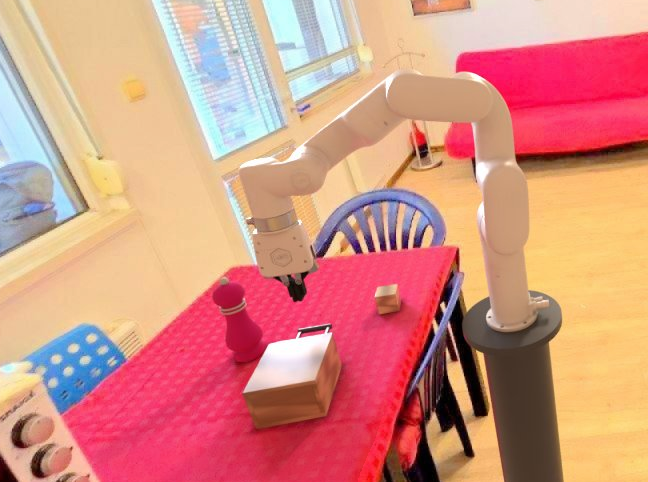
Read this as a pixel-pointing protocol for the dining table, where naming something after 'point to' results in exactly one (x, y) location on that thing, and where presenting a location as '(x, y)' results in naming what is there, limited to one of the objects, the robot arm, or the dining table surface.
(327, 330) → the drawer
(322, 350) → the cabinet
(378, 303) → the block
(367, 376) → the dining table surface
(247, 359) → the pepper mill
